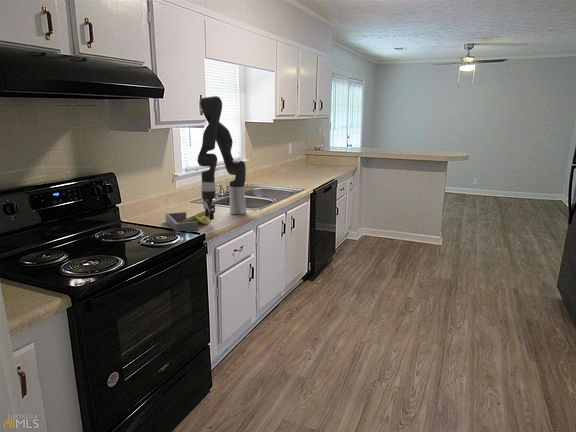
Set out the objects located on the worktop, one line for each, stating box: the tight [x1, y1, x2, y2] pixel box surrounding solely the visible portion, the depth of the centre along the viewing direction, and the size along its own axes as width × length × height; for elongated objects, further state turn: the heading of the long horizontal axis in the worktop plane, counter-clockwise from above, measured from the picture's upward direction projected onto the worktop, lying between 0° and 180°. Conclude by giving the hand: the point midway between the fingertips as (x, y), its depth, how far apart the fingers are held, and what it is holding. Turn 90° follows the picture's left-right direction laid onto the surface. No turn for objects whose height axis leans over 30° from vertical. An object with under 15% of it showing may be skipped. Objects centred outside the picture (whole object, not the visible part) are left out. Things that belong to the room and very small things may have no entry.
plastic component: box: [182, 210, 212, 225], centre depth 230 cm, size 20×7×10 cm
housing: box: [164, 211, 199, 233], centre depth 225 cm, size 12×28×5 cm, turn 27°
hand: (209, 218), depth 232 cm, fingers open, 8 cm apart
